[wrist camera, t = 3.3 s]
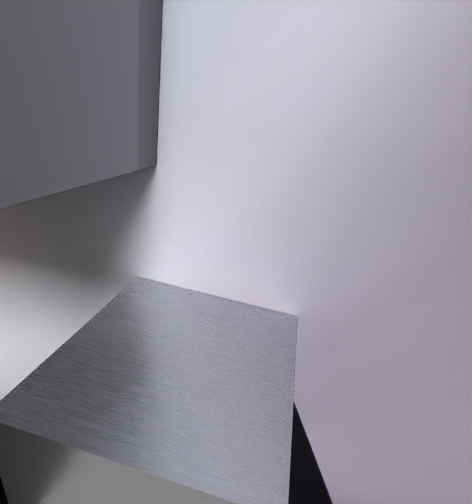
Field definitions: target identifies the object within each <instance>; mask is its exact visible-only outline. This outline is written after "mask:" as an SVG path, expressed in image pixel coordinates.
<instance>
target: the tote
mask: <svg viewBox="0 0 472 504" xmlns="http://www.w3.org/2000/svg"><path fill="white" fill-rule="evenodd" d="M162 2H163V0H0V209H1V208H5V207H9V206H12V205H16V204H19V203H23V202H27V201H30V200H34V199H37V198H41V197H44V196H48V195H52V194H55V193H59V192H62V191H66V190H70V189H73V188H77V187H80V186H84V185H88V184H91V183H95V182H98V181H102V180H106V179H109V178H113V177H116V176H120V175H124V174H127V173H131V172H134V171H138V170H142V169H145V168H149V167H152V166H156V162H157V135H158V108H159V82H160V55H161V29H162Z"/></svg>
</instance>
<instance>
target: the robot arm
mask: <svg viewBox="0 0 472 504" xmlns="http://www.w3.org/2000/svg"><path fill="white" fill-rule="evenodd" d="M0 504H8V501H7V497H6V494H5V490H4V487H3V483H2V480H1V477H0ZM288 504H333V503H332V501H331V498H330V496H329V493H328V490H327V488H326V485H325V482H324V480H323V477H322V474H321V472H320V469H319V467H318V464H317V461H316V459H315V456H314V453H313V451H312V448H311V445H310V443H309V440H308V437H307V435H306V432H305V430H304V427H303V424H302V422H301V419H300V416H299V414H298V411H297V408H296V406H295V403H294V402H293V420H292V440H291V459H290V479H289V498H288Z"/></svg>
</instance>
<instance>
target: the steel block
mask: <svg viewBox="0 0 472 504" xmlns="http://www.w3.org/2000/svg"><path fill="white" fill-rule="evenodd" d="M297 324H298V317H296V316H292V315H288V314H284V313H280V312H276V311H272V310H268V309H264V308H260V307H256V306H252V305H248V304H244V303H240V302H236V301H232V300H228V299H224V298H220V297H216V296H212V295H208V294H204V293H200V292H196V291H192V290H188V289H184V288H180V287H176V286H172V285H168V284H164V283H160V282H156V281H152V280H147V279H143V278H139V277H137V278H136V279H135V280H134V281H133V282H132V283H130V284H129V285H128V286H127V287H126V288H125V289H124V290H123V291H122V292H120V293H119V294H118V295H117V296H116V297H115V298H114V299H113V300H112V301H111V302H109V303H108V304H107V305H106V306H105V307H104V308H103V309H102V310H101V311H99V312H98V313H97V314H96V315H95V316H94V317H93V318H92V319H91V320H89V321H88V322H87V323H86V324H85V325H84V326H83V327H82V328H81V329H79V330H78V331H77V332H76V333H75V334H74V335H73V336H72V337H71V338H70V339H68V340H67V341H66V342H65V343H64V344H63V345H62V346H61V347H60V348H58V349H57V350H56V351H55V352H54V353H53V354H52V355H51V356H50V357H48V358H47V359H46V360H45V361H44V362H43V363H42V364H41V365H40V366H39V367H37V368H36V369H35V370H34V371H33V372H32V373H31V374H30V375H29V376H27V377H26V378H25V379H24V380H23V381H22V382H21V383H20V384H19V385H17V386H16V387H15V388H14V389H13V390H12V391H11V392H10V393H9V394H7V395H6V396H5V397H4V398H3V399H2V400H1V401H0V477H1V480H2V483H3V487H4V490H5V494H6V497H7V501H8V504H288V498H289V479H290V459H291V440H292V420H293V401H294V382H295V362H296V343H297Z"/></svg>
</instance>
